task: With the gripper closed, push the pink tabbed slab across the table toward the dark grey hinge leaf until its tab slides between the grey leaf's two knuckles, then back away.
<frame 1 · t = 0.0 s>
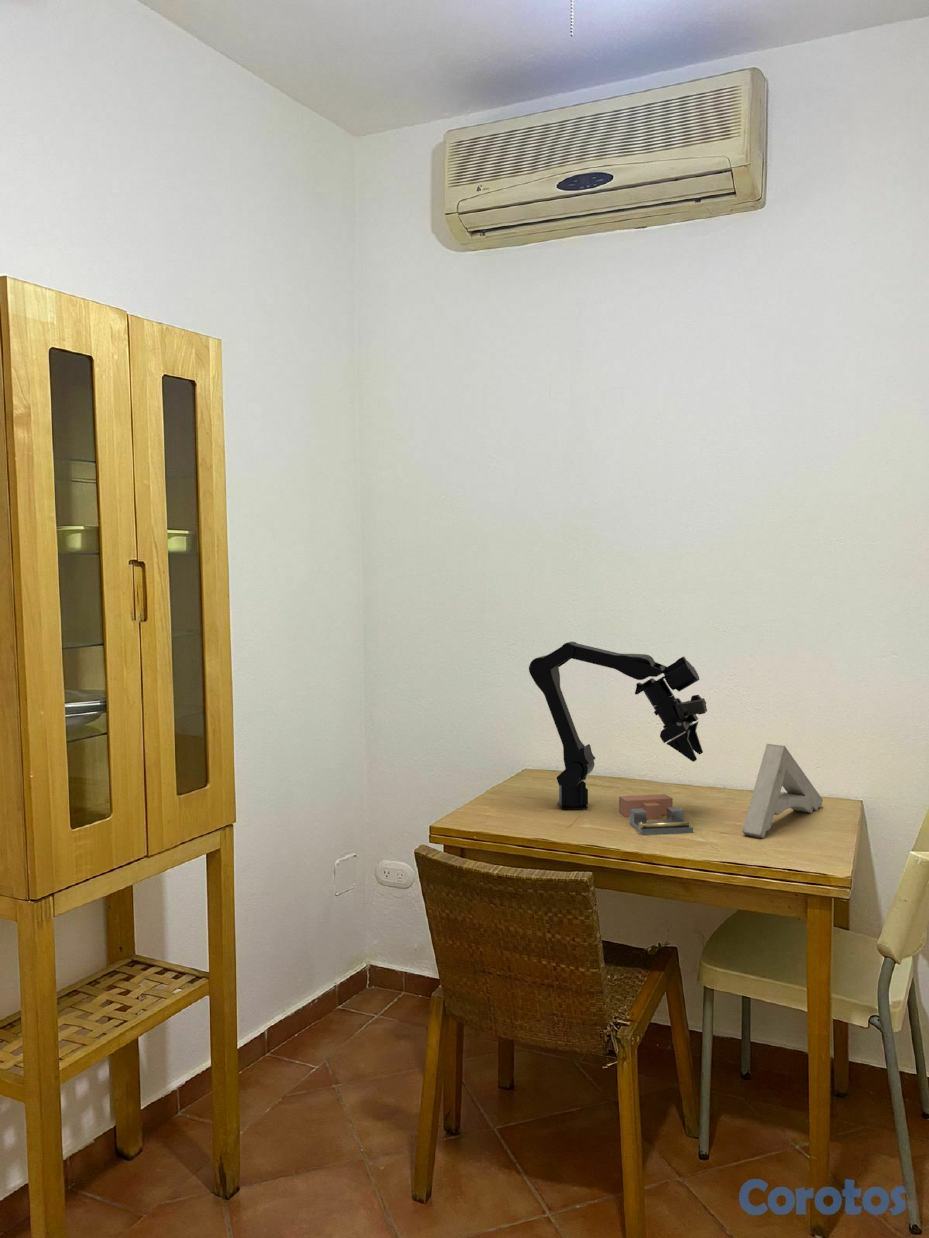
hand: (698, 757, 237), 15 cm above the table, tool tilted 35°, fingers open, 9 cm apart
fixed leaf: (661, 828, 229), on the table
hinge pin: (665, 832, 226), resting on fixed leaf
pink tabbed slab: (645, 813, 243), on the table
grey letter a: (784, 822, 235), on the table
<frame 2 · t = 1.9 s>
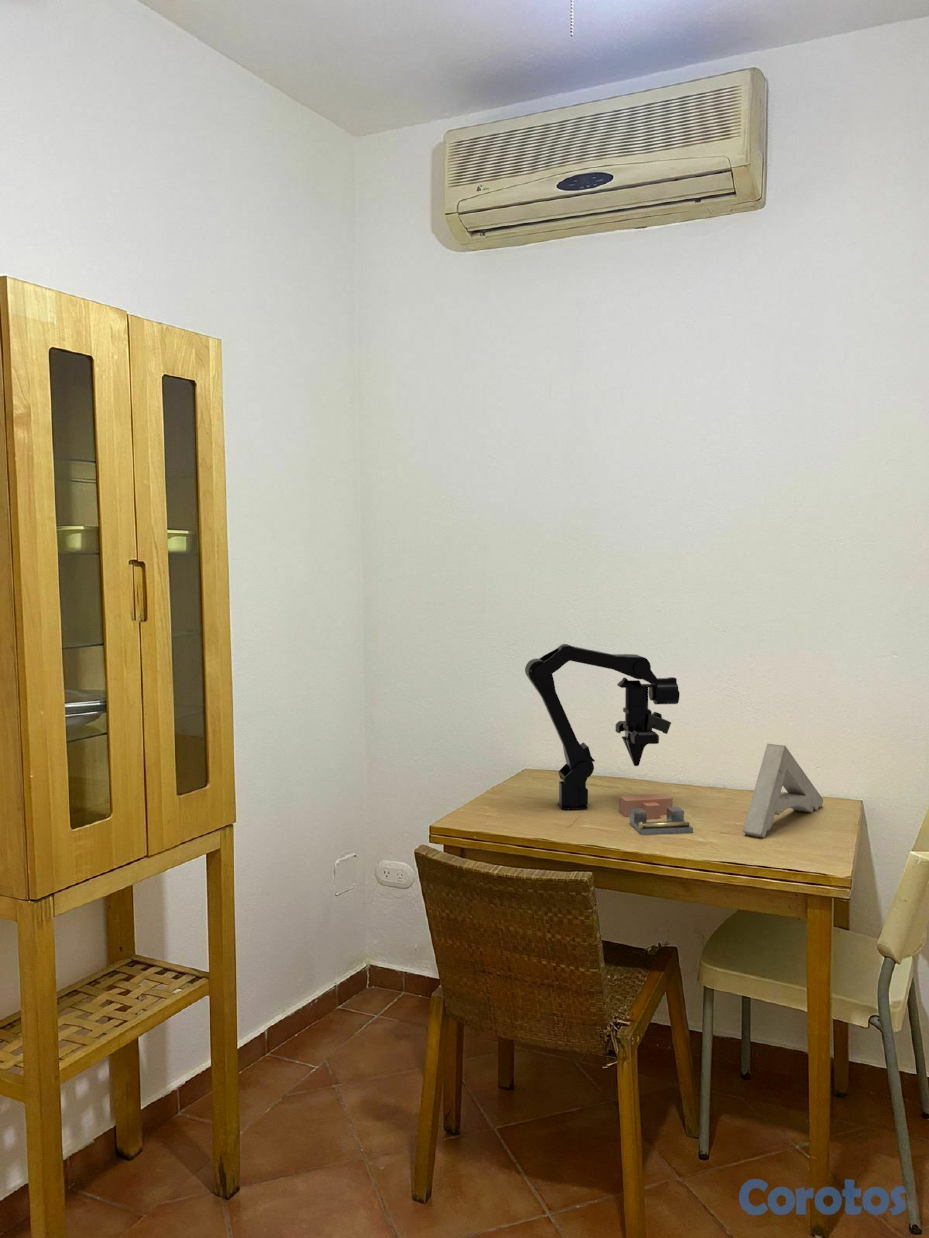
hand: (636, 765, 251), 10 cm above the table, tool pointing down, fingers closed
nothing on the table moved.
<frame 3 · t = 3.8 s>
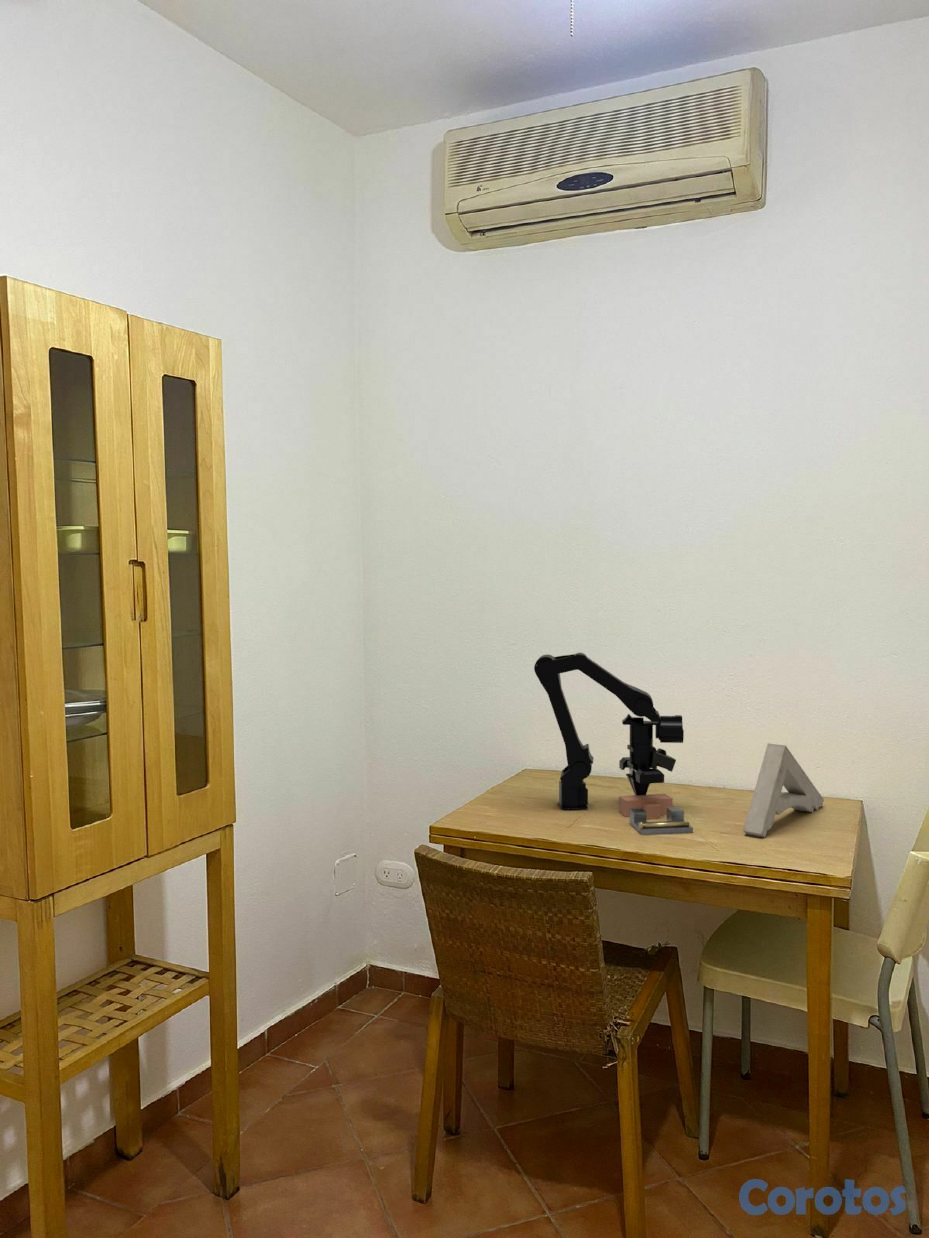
hand: (641, 803, 248), 1 cm above the table, tool pointing down, fingers closed
pink tabbed slab: (645, 813, 243), on the table, touching gripper
everything else where it was.
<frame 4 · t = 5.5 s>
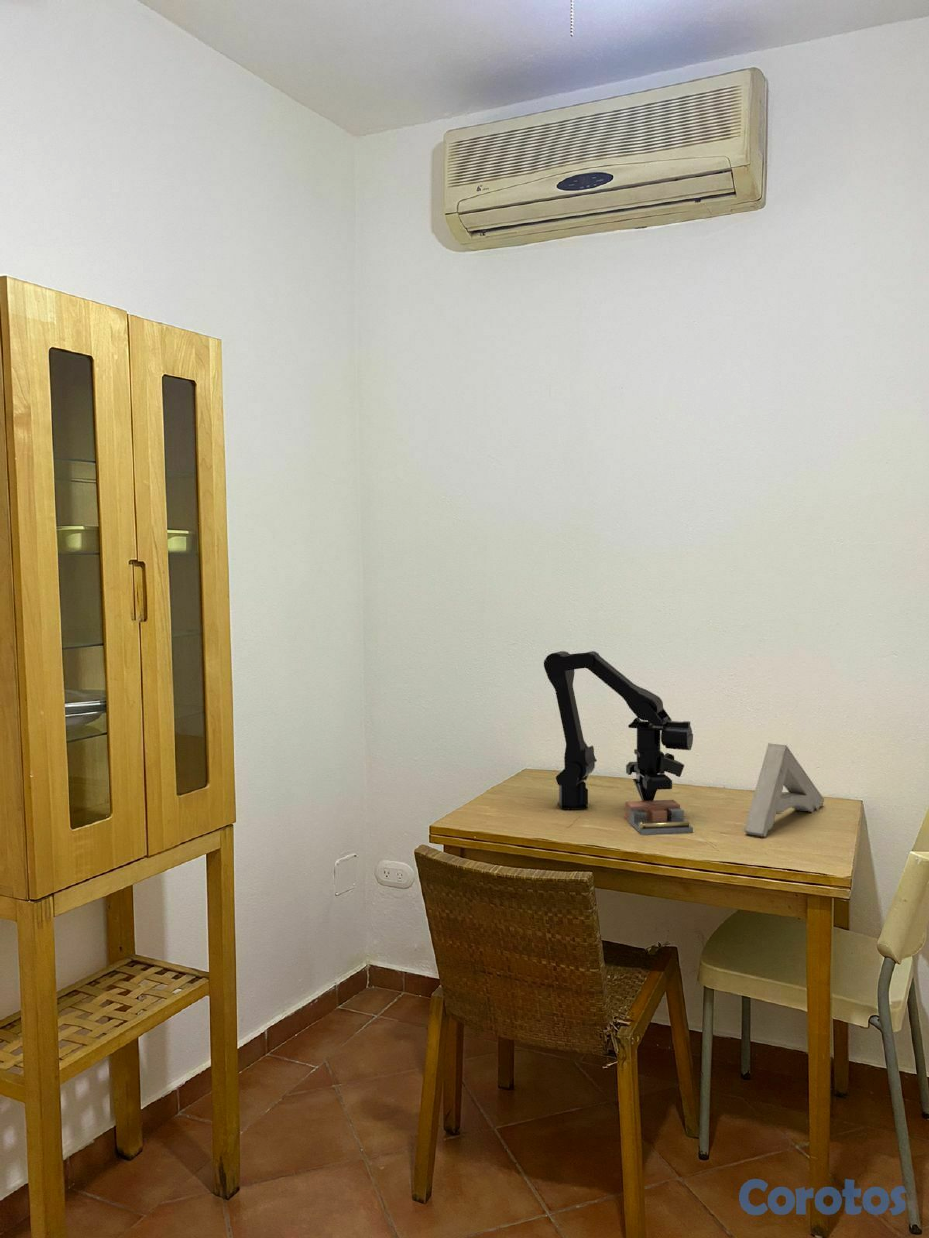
hand: (648, 809, 241), 1 cm above the table, tool pointing down, fingers closed
pink tabbed slab: (652, 819, 237), on the table, touching fixed leaf, gripper
everything else where it was.
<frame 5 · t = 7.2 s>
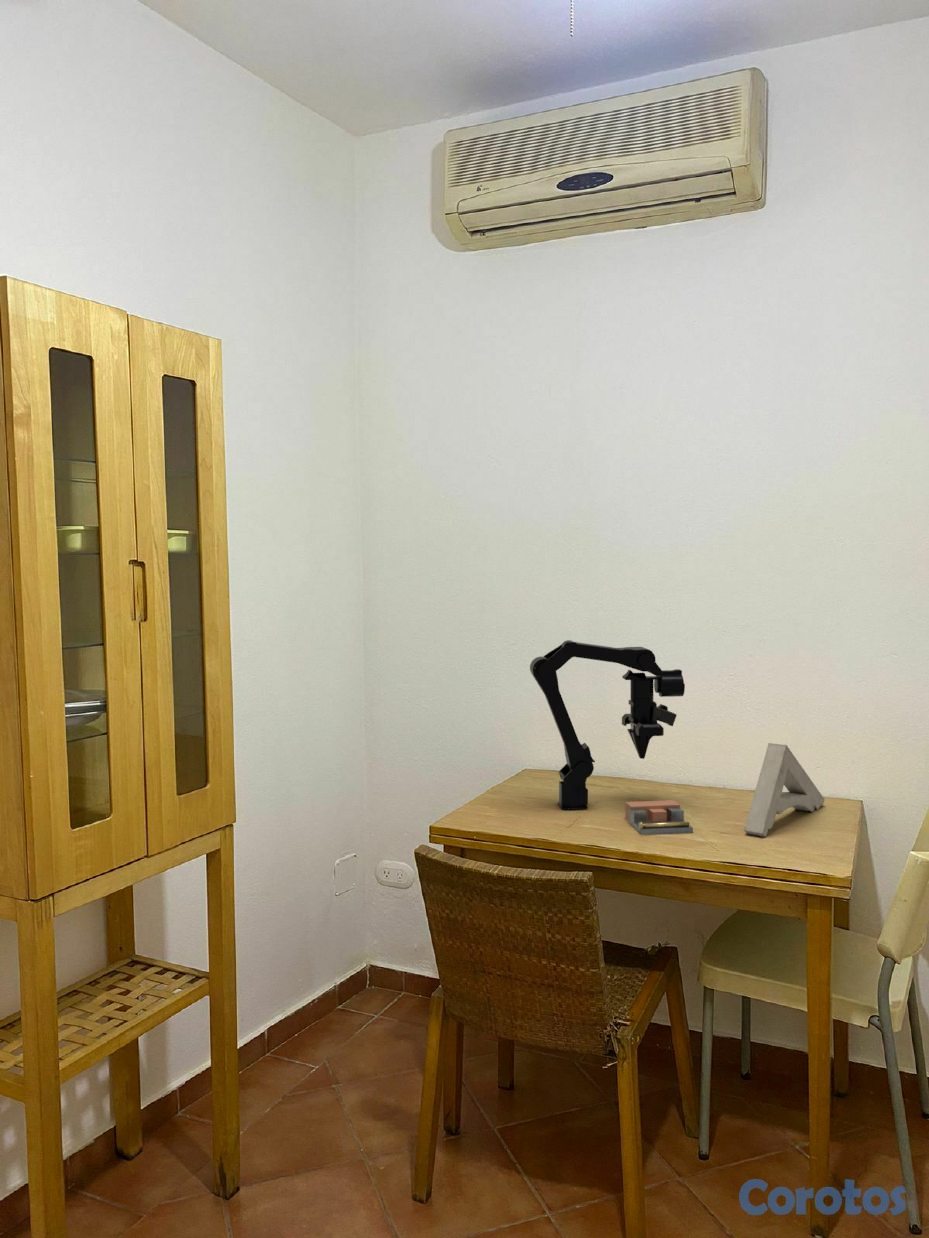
hand: (642, 758, 250), 12 cm above the table, tool pointing down, fingers closed
pink tabbed slab: (652, 819, 237), on the table
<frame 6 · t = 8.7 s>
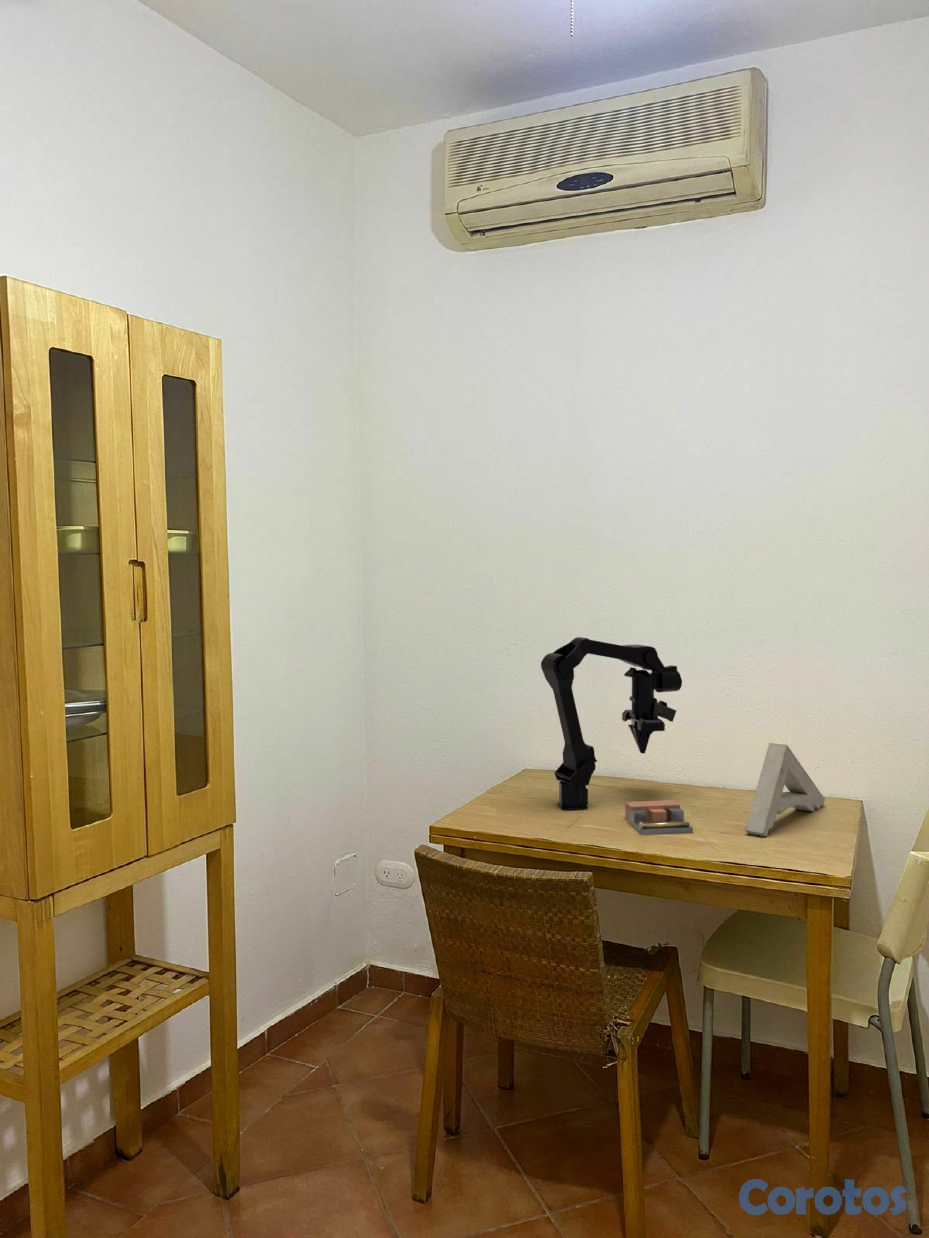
hand: (642, 752, 258), 12 cm above the table, tool pointing down, fingers closed
at the end: pink tabbed slab 0.3 cm from the target spot, on the table; pink tabbed slab tilted 1° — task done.
